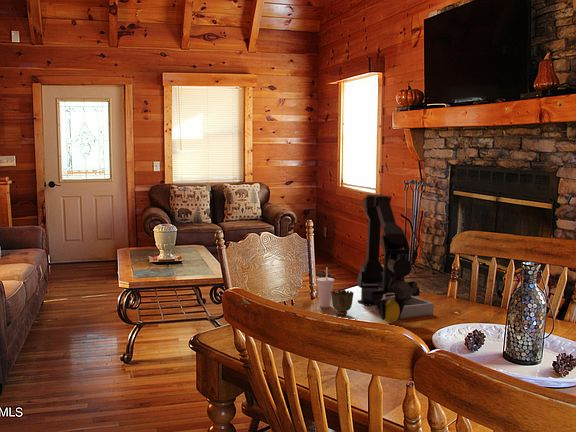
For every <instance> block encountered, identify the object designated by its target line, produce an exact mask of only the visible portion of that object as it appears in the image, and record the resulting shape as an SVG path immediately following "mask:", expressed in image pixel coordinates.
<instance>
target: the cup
mask: <svg viewBox="0 0 576 432" xmlns="http://www.w3.org/2000/svg"><path fill="white" fill-rule="evenodd" d="M354 293H355V292H353V291H352V290H349V289H348V290H347V291H346V289H342V290H341V289H338V290H337V291H336V290H332V292H331V294H332V296H331V303H332V307H333V309H334V310H335V311H336V315H337V316H339V317H346V316H348V311H349V310H351V308H352V306H353V301H354V299H353V298H354Z"/></svg>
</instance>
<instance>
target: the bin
mask: <svg viewBox="0 0 576 432" xmlns="http://www.w3.org/2000/svg"><path fill="white" fill-rule="evenodd" d="M411 297H412V299H410V300H408V301H407V302H406V304H405V305H404V308H403V310H402V313H401V315H400V317H399V318H398V319H397V320H404V319H405V320H406V319H412V318H413V319H414V318H419V317H428V316H434V310H435V309H434V306H435V305H434V302H432V301H428V300H424V299H422V298H419V297H418V296H411ZM385 299H386V300H390V299H393V300H394V301H395V295H389V296H385ZM375 310H377V311H378V309H377V306H376V305H375Z"/></svg>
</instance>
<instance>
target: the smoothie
mask: <svg viewBox="0 0 576 432" xmlns="http://www.w3.org/2000/svg"><path fill="white" fill-rule="evenodd" d="M328 273H329V270H328V267H325V277H317V278H316V283H317V294H318V304H319V307H321V308H330V307H331V303H332V294H331V292H332V291H334V283H335V278H333V277H328V276H329V275H328Z"/></svg>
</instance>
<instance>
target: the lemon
mask: <svg viewBox="0 0 576 432" xmlns="http://www.w3.org/2000/svg"><path fill="white" fill-rule="evenodd" d="M399 314H400V309H399V305H398V303H397V302H395V301H394V300H393V299H390V300H388V302H387V303H386V307H385V322H388V323H389V325H390V324H392V323H393V322H396V321H397V320H399V319H398V317H399Z"/></svg>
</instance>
